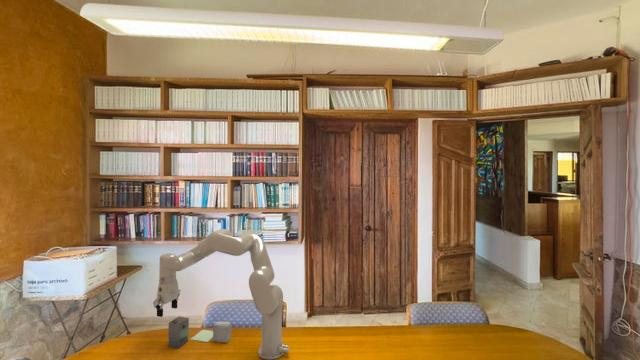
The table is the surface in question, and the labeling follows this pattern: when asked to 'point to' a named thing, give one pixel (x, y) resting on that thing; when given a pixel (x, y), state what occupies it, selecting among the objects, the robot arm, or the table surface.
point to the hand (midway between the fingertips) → (167, 312)
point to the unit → (178, 332)
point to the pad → (203, 336)
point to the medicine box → (222, 332)
